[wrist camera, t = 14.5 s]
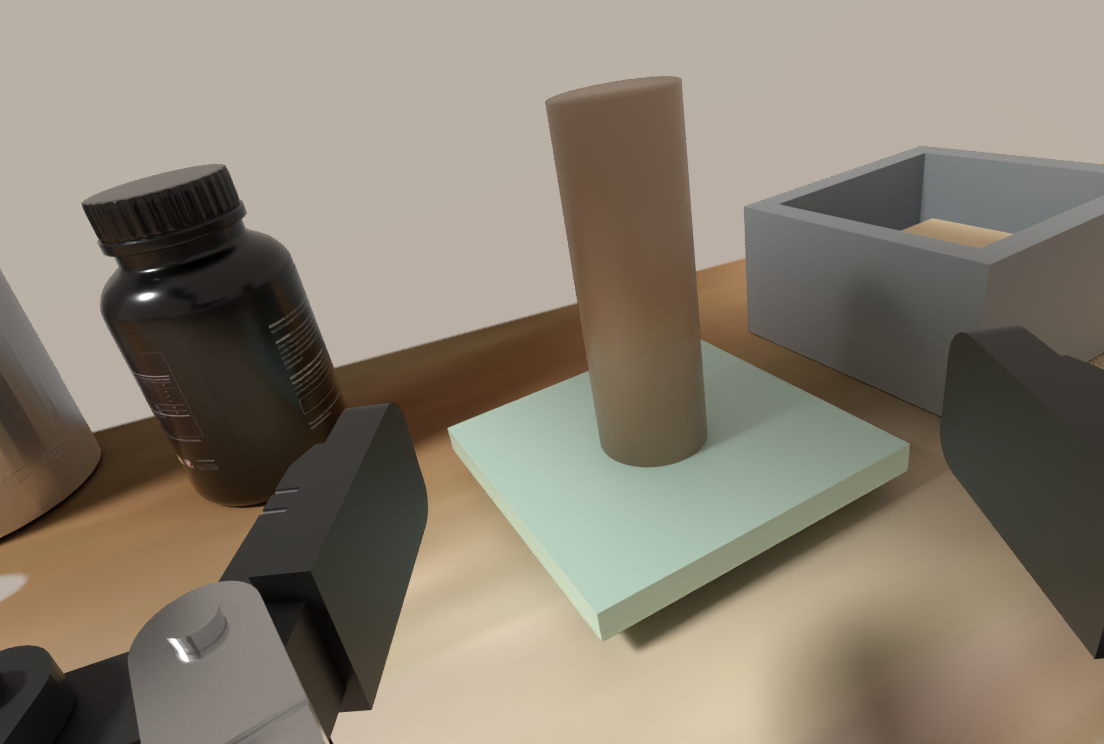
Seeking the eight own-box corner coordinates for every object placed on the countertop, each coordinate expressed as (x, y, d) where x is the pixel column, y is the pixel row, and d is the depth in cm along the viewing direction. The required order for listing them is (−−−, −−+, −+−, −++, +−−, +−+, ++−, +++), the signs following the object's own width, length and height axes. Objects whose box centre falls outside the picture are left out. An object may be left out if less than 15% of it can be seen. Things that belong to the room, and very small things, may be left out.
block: (947, 337, 28) (954, 265, 26) (863, 309, 31) (867, 244, 30) (1012, 305, 29) (1023, 235, 28) (926, 281, 32) (932, 218, 31)
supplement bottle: (305, 403, 34) (209, 153, 29) (389, 440, 30) (295, 155, 24) (167, 480, 30) (22, 205, 24) (241, 536, 26) (86, 217, 20)
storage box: (967, 428, 24) (989, 264, 21) (748, 331, 33) (743, 206, 30) (1153, 324, 28) (1193, 173, 25) (911, 262, 37) (921, 145, 34)
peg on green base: (607, 668, 18) (511, 165, 12) (459, 471, 27) (361, 124, 21) (905, 496, 22) (944, 45, 16) (688, 372, 31) (661, 53, 25)
